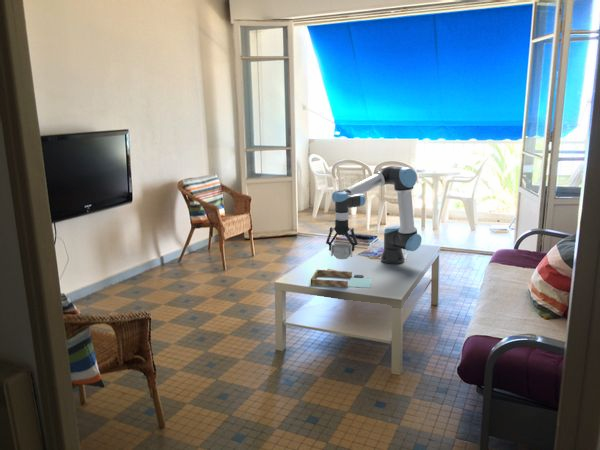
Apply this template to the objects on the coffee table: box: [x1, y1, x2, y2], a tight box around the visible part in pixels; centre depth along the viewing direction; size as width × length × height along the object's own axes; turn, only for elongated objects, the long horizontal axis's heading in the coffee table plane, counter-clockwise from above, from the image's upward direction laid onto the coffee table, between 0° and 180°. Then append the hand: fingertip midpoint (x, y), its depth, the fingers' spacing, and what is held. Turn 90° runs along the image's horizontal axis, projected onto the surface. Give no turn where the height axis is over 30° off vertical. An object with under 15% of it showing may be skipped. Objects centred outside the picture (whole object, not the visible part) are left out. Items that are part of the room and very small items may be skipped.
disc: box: [353, 274, 365, 278], centre depth 319 cm, size 6×6×1 cm
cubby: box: [310, 269, 353, 288], centre depth 311 cm, size 22×19×4 cm
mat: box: [347, 277, 373, 289], centre depth 308 cm, size 13×16×1 cm
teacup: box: [332, 242, 351, 260], centre depth 306 cm, size 14×11×8 cm
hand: (341, 256), depth 307 cm, fingers closed on teacup, 11 cm apart
